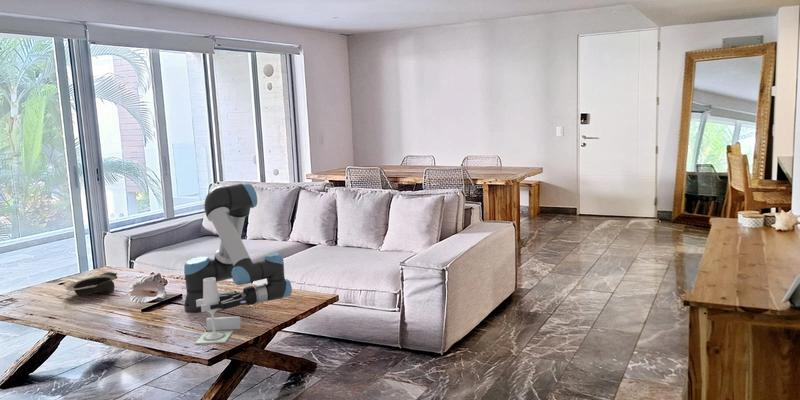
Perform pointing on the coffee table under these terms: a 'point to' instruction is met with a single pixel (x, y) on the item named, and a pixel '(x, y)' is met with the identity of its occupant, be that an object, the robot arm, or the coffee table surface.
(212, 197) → the robot arm
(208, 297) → the champagne flute
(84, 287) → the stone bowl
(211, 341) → the resting pad
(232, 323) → the low wall
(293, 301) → the coffee table surface
